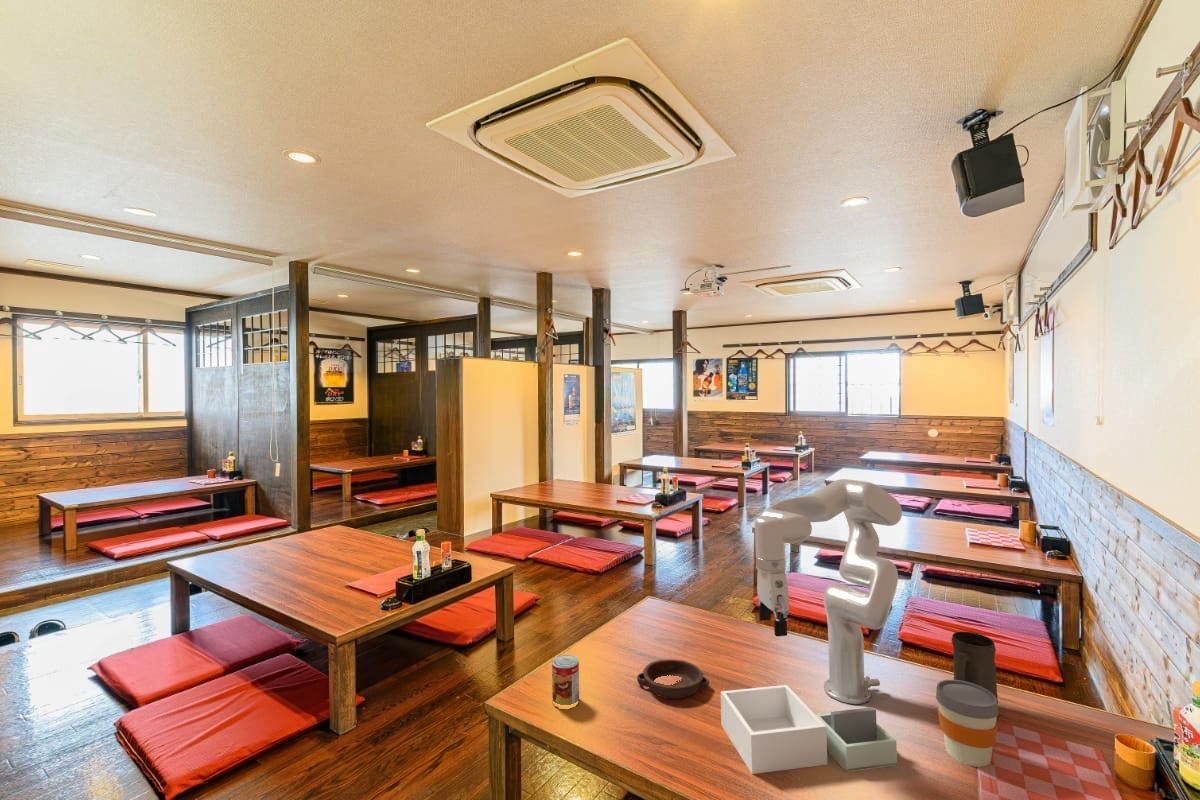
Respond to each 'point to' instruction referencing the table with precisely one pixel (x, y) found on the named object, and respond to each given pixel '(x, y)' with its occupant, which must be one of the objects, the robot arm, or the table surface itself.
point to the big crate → (773, 729)
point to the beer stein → (975, 660)
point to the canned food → (565, 679)
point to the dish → (686, 670)
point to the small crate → (858, 740)
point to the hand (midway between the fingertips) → (772, 627)
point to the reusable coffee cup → (967, 721)
